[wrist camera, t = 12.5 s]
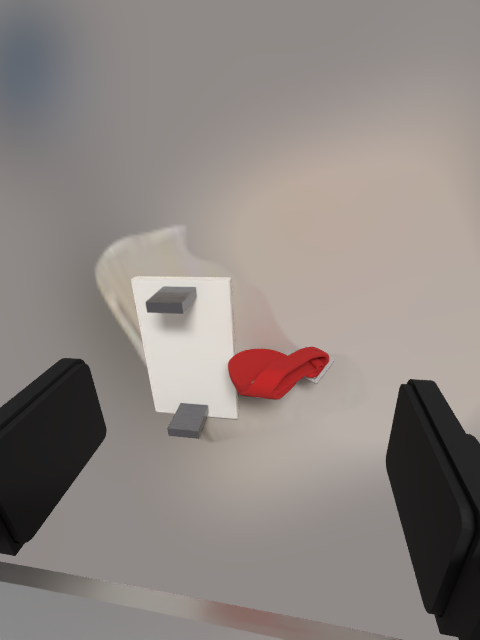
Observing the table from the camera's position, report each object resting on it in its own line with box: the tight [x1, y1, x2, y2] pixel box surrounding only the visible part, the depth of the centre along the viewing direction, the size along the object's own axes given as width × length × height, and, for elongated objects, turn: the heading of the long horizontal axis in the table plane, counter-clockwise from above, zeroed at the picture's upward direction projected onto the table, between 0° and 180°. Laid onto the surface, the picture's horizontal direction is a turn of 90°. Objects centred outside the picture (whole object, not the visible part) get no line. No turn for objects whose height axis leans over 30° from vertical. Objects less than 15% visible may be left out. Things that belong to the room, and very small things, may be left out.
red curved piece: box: [228, 347, 334, 399], centre depth 37 cm, size 12×4×10 cm, turn 88°
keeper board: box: [131, 276, 239, 439], centre depth 41 cm, size 12×20×6 cm, turn 2°
